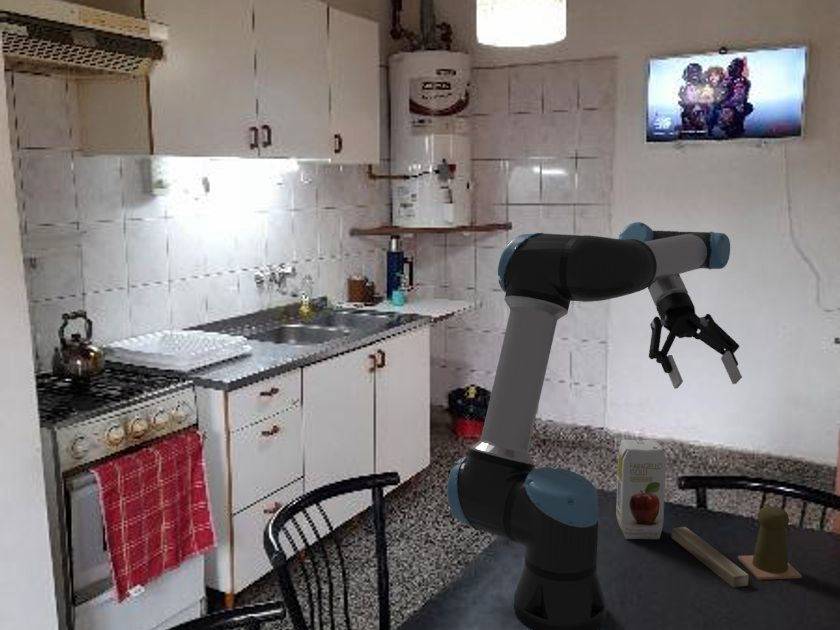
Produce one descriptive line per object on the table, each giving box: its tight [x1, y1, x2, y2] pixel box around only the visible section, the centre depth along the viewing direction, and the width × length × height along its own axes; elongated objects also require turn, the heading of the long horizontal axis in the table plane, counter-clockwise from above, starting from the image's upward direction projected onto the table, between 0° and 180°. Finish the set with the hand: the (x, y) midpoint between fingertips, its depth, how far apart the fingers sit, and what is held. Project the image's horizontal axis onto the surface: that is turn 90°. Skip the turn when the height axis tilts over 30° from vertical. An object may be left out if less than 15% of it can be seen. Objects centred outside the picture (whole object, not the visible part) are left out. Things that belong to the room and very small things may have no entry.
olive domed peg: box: [752, 505, 790, 573], centre depth 140 cm, size 6×6×11 cm
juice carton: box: [615, 438, 667, 540], centre depth 154 cm, size 8×9×19 cm
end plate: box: [737, 554, 803, 581], centre depth 141 cm, size 8×8×1 cm
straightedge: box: [671, 526, 750, 588], centre depth 144 cm, size 3×20×2 cm, turn 13°
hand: (708, 383), depth 158 cm, fingers open, 13 cm apart
